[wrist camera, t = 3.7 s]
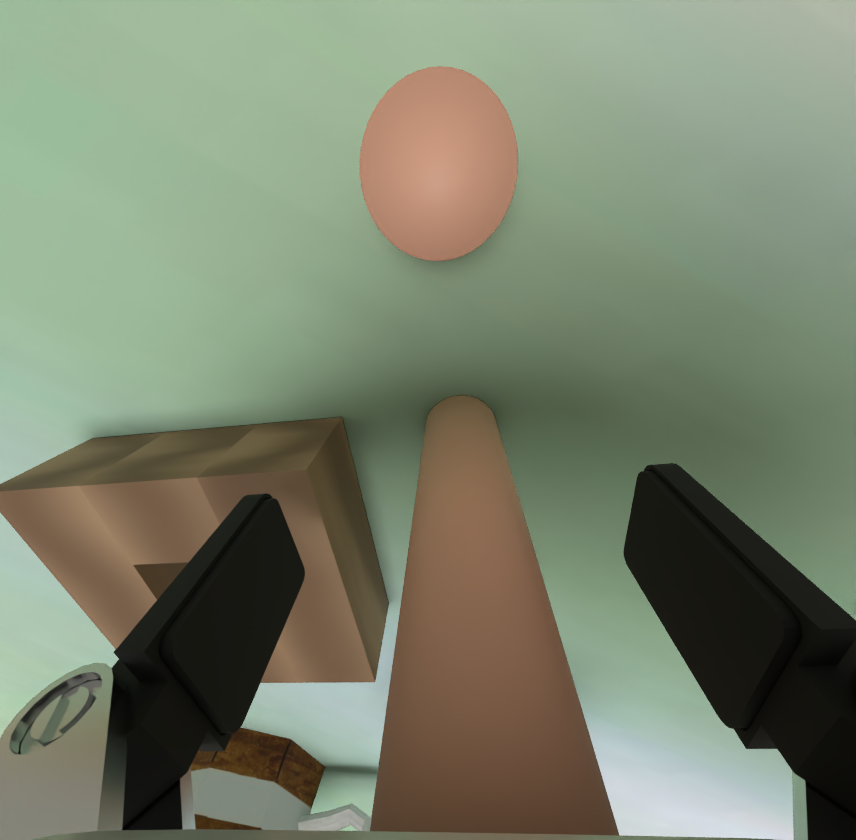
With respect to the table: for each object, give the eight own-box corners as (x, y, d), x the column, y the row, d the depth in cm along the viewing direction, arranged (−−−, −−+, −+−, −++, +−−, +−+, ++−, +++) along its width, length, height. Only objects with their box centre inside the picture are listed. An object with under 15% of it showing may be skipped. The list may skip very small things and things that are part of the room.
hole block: (342, 416, 14) (306, 470, 11) (388, 603, 19) (375, 682, 16) (92, 438, 15) (-17, 492, 12) (197, 609, 21) (144, 683, 17)
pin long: (495, 392, 13) (688, 934, 3) (497, 455, 15) (633, 997, 4) (421, 398, 14) (321, 910, 3) (429, 460, 15) (382, 977, 4)
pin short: (486, 144, 10) (517, 51, 6) (490, 254, 11) (517, 250, 7) (389, 160, 10) (344, 83, 6) (403, 266, 12) (375, 269, 7)
